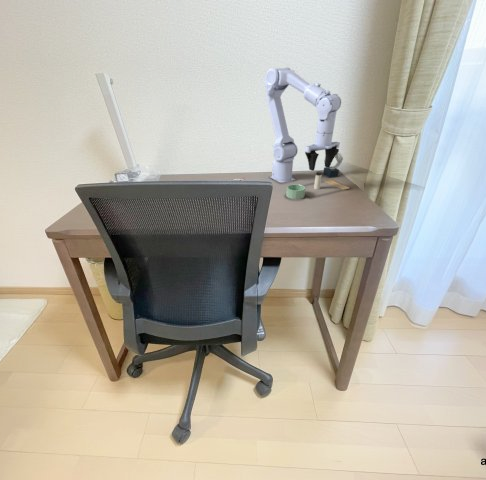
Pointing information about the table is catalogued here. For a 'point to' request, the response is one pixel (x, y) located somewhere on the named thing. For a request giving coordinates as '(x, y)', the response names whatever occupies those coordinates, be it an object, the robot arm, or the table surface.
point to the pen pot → (295, 191)
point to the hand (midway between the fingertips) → (319, 168)
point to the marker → (318, 180)
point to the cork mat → (337, 184)
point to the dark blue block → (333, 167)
